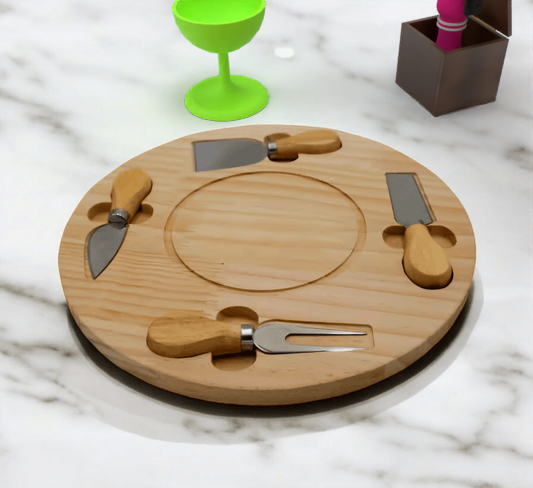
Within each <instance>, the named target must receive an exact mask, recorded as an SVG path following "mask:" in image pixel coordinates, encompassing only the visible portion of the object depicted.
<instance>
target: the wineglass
mask: <svg viewBox="0 0 533 488" xmlns="http://www.w3.org/2000/svg"><path fill="white" fill-rule="evenodd" d="M266 5H267V1H266V0H174V2H173V3H172V5H171V11H172V16H173V18H174V23H175V25H176V27H177V28H178V30H179V31H180V33H181V35H182V36H183V37H184V38H185V39H186V40H187V41H188V43H190V44H191V45H192V46H195V47H196V48H198V49H199V50H202V51H205V52H207V53H211V54H217V61H218V71H219V72H218V73H219V75H214V76H211V77H207V78H205V79H201V80H200V81H198V82H197V83H195V84H194V85H192V86H191V87H190V88H189V89H188V91H187V92H186V94H185V97H184V105H185V107H186V109H187V111H188V112H189V113H191V114H192V115H194V116H195V117H198V118H200V119H203V120H206V121H207V120H208V121H214V122H231V121H238V120H239V121H240V120H242V119H247V118H249V117H252V116H254V115H256V114H258V113H259V112H260V111H263V109H265V107H266V106H267V105H268V103H269V99H270V94H269V92H268V89H267V87H266V86H265V85H264V84H263V83H262V82H260V81H259V80H257V79H255V78H252V77H250V76H246V75H240V74H231V69H230V56H229V53H232V52H235V51H238V50H240V49H241V48H243V47H244V46H246V45H247V44H249V43H250V42H251V41H252V40H253V39H254V38H255V36H256V35H257V34H258V32H259V31H260V29H261V27H262V24H263V22H264V18H265V15H266V14H265V13H266Z"/></svg>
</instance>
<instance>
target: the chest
mask: <svg viewBox="0 0 533 488" xmlns="http://www.w3.org/2000/svg"><path fill="white" fill-rule="evenodd" d="M438 16H439V14H435V15H431V16H426V17H422V18H417V19H411V20H408V21H403V22H401V23H400V25H401V26H400V35H399V43H398V52H397V62H396V71H395V84H396V85H397V86H399V87H400V88H401V89H402V90H403V91H404V92H406V93H407V94H408V95H409V96H410V97H411V98H412V99H414V101H416V102H417V103H418V104H419V105H420V106H422V107H423V108H424V109H425V110H426V111H427V112H429V113H430V114H431V115H432V116H433V117H434V118H437V117H440V116H444V115H448V114H451V113H452V114H453V113H455V112H460V111H463V110H466V109H470V108H471V109H472V108H475V107H478V106H481V105H486V104H489V103H493V102H496V99H497V94H498V90H499V87H500V81H501V77H502V73H503V69H504V64H505V59H506V56H507V51H508V46H509V42H510V39H509V37H507V36H505V35H503V34H502V33H500V32H499V31H497V30H496V31H495V30H494V29H492V28H491V27H489V26H487V25H486V24H484V23H483V22H481V21H480V20H478V19H476V18H475V17H473V16H472V15H470V16H467V22H466V24H467V26H466V28H465V29H463V32H462V38H461V43H462V48H459V49H455V50H451V51H447V52H446V51H445V50H444V49H442V48H441V47H440V46H438V45H437V44H435V43H436V41H437V37H438V33H439V27H438V26H437V21H438V19H437V18H438Z"/></svg>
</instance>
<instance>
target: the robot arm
mask: <svg viewBox="0 0 533 488" xmlns="http://www.w3.org/2000/svg"><path fill="white" fill-rule="evenodd" d="M482 6H483V0H465V5H464V11H463V15H465V16H470V15H475V14H479V13H481V11H482Z"/></svg>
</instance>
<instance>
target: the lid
mask: <svg viewBox="0 0 533 488" xmlns="http://www.w3.org/2000/svg"><path fill="white" fill-rule="evenodd" d="M473 16H475V17H476V18H478V19H480V20H481V21H483V22H484V23H486V24H487V25H489V26H491V27H492V28H494V29H495V30H496V31H497V32H499V33H500V34H502V35H503V36H505V37H506V38H510V37H512V36H513V0H483V6H482V11H481V13H479V14H475V15H473Z"/></svg>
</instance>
